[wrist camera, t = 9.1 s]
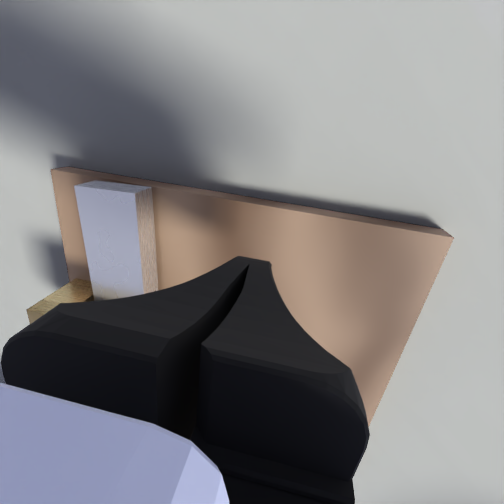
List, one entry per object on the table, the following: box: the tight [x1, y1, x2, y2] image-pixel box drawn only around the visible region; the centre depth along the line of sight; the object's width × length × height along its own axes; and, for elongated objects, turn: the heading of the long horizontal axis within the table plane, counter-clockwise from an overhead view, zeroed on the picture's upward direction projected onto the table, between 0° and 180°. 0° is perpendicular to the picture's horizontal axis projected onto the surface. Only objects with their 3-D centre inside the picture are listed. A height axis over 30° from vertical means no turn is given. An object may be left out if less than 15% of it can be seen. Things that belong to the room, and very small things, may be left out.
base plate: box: [51, 167, 454, 427], centre depth 17 cm, size 20×20×4 cm
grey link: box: [74, 180, 158, 301], centre depth 17 cm, size 17×4×2 cm, turn 175°
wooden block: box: [27, 278, 94, 324], centre depth 16 cm, size 7×4×3 cm, turn 83°
